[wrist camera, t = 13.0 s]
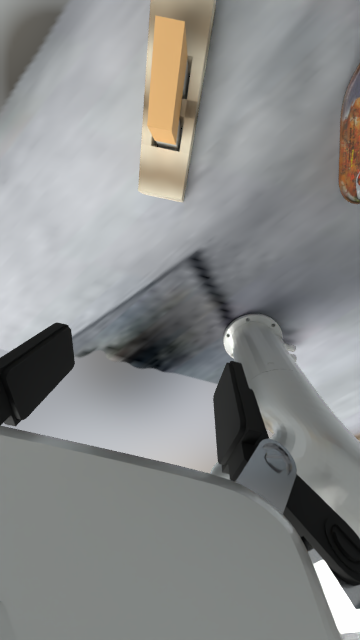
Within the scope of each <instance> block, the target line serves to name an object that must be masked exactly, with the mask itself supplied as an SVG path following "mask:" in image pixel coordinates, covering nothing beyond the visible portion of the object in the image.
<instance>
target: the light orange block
mask: <svg viewBox="0 0 360 640" xmlns="http://www.w3.org/2000/svg"><path fill="white" fill-rule="evenodd" d="M187 57H188V55H187V42H186V29H185V21H180V20H176V19H171V18H166V17H161V16H156V15H155V26H154V40H153V53H152V67H151V80H150V94H149V107H148V121H147V126H148V128H149V130H150V132H151V134H152V136H153V138H154V140H155V141H156V142H157V144H158V146H159V148H164V149H168V150H173V151H178V152H179V148H180V141H181V134H182V131H181V126H180V121H179V117H180V110H181V102H182V99H187V91H188V84H189V74H188V62H187Z"/></svg>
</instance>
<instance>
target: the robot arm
mask: <svg viewBox="0 0 360 640" xmlns="http://www.w3.org/2000/svg"><path fill="white" fill-rule="evenodd" d="M246 318H248V319H246ZM223 343H224V347H225V350H226V352H227V353H228V354H229V355H230V356H231V357H232V358H234V359H235V361H230V363H226V366H225V368H224V371H223V373H222V376H221V378H220V381H219V383H218V386H217V388H216V391H215V393H214V399H213V401H214V414H215V428H216V442H217V455H218V462H217V463H216V464H215V465H214V467H213V468H212V470H211V472H210V474H209V473H205V472H201V471H197V470H193V469H189V468H185V467H181V466H177V465H173V464H169V463H165V462H160V461H156V460H151V459H147V458H143V457H138V456H134V455H130V454H125V453H121V452H117V451H112V450H108V449H103V448H99V447H94V446H90V445H86V444H81V443H77V442H72V441H68V440H63V439H58V438H54V437H50V436H45V435H40V434H36V433H31V432H27V431H22V430H17V429H13V428H8V427H4V426H0V640H360V442H359V441H358V440H357V438H356V437H355V436H354V435H353V434H352V433H351V432H350V431H349V430H348V429H347V428H346V427H345V426H344V424H343V423H342V422H341V421H340V420H339V419H338V418H337V416H336V415H335V414H334V413H333V412H332V411H331V409H330V408H329V407H328V406H327V404H326V403H325V402H324V401H323V399H322V398H321V397H320V395H319V394H318V393H317V391H316V390H315V389H314V387H313V386H312V384H311V383H310V382H309V380H308V379H307V378H306V376H305V375H304V373H303V372H302V371H301V369H300V368H299V366H298V365H297V364H296V355H294V354H290V353H289V352H288V351H292V352H294V351H295V350H296V347H295V346H294V345H290V344H285V342H284V341H283V340H282V331H281V328H280V327H279V325H278V324H277V323H276V322H275V321H274V320H273V319H272V318H270V317H268V316H266V315H262V314H247V315H244V316H241V317H239V318H237V319H235V320H234V321H233V322H232V323H231V324H230V325H229V326H228V327H227V329H226V330H225V333H224V336H223ZM74 364H75V361H74V352H73V343H72V334H71V329H70V328H69V326H68V325H66V324H61V323H54V324H53V325H51V326H50V327H48V328H47V329H45V330H43V331H42V332H40V333H39V334H37V335H35V336H34V337H32V338H31V339H29V340H28V341H26V342H24V343H23V344H21V345H20V346H18V347H17V348H15V349H13V350H12V351H10V352H9V353H7V354H6V355H4V356H2V357H1V358H0V425H1V424H2V423H3V422H4V423H5V424H7V425H12V426H16V425H17V424H18V423H19V422H20V421H21V420H24V419H26V418H27V417H28V416H29V415H30V414H31V413H32V411H34V409H35V408H36V407H37V406H38V405H39V404H40V403H41V402H42V401H43V400H44V399H45V398H46V397H47V395H48V394H49V393H50V392H51V391H52V390H53V389H54V388H55V387H56V386H57V385H58V383H59V382H60V381H61V380H62V379H63V378H64V377H65V376H66V375H67V374H68V373H69V372H70V371H71V370H72V368H73V367H74ZM266 429H267V430H269V431H270V432H271V433H273V434H274V435H273V436H272V437H271V438H269V437H268V434H267V431H266Z"/></svg>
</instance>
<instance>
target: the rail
mask: <svg viewBox="0 0 360 640" xmlns="http://www.w3.org/2000/svg"><path fill="white" fill-rule="evenodd" d="M215 8H216V0H151V3H150V19H149V34H148V49H147V64H146V80H145V95H144V110H143V126H142V141H141V156H140V171H139V187H138V191H139V192H141V193H143V194H145V195H150V196H155V197H159V198H164V199H169V200H173V201H178V202H183V201H184V195H185V189H186V183H187V177H188V171H189V165H190V159H191V153H192V147H193V141H194V135H195V129H196V123H197V117H198V111H199V105H200V99H201V93H202V87H203V81H204V75H205V69H206V63H207V57H208V51H209V45H210V39H211V33H212V27H213V21H214V15H215ZM155 15H156V16H161V17H166V18H171V19H176V20H180V21H185V29H186V42H187V55H188V57H187V62H188V74H189V75H190V81H189V88H188V95H187V100H186V99H182V102H181V110H180V117H179V121H180V126H181V127H183V131H182V138H181V145H180V152H178V151H173V150H168V149H164V148H159V147H156V144H157V142H156V141H155V140H154V138H153V136H152V134H151V132H150V130H149V128H148V126H147V121H148V107H149V94H150V80H151V67H152V53H153V40H154V26H155Z"/></svg>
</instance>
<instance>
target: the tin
mask: <svg viewBox="0 0 360 640" xmlns="http://www.w3.org/2000/svg"><path fill="white" fill-rule="evenodd" d="M339 187H340V191H341V193H342V195H343V197H344V198H345V199H346V200H347V201H348V202H350V203H353V204H360V64H359V65H358V67H357V69H356V71H355V73H354V74H353V76H352V79H351V81H350V83H349V86H348V88H347V91H346V94H345V97H344V101H343V105H342V110H341V121H340V158H339Z"/></svg>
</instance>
